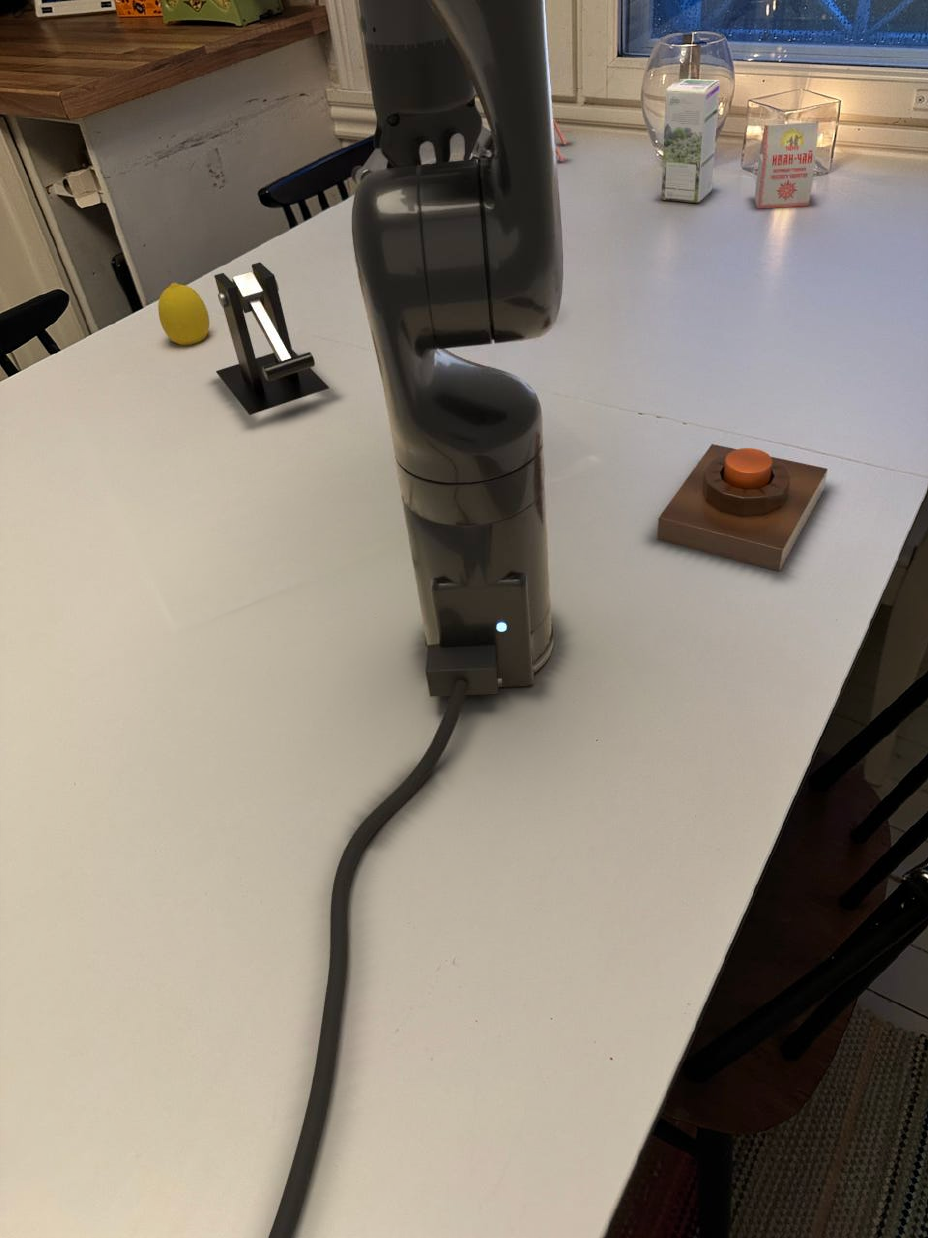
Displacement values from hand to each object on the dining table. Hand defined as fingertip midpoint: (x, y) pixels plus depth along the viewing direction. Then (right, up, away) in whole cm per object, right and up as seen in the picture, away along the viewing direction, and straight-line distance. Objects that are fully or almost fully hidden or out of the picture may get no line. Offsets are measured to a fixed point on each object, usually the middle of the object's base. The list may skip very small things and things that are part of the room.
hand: (444, 275), depth 75 cm
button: (+24, -17, -1) cm, 29 cm away
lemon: (-31, +5, +36) cm, 48 cm away
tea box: (+46, +30, +53) cm, 76 cm away
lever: (-18, +1, +19) cm, 26 cm away
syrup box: (+34, +33, +58) cm, 75 cm away
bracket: (-19, -3, +26) cm, 33 cm away
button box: (+25, -19, +2) cm, 31 cm away
